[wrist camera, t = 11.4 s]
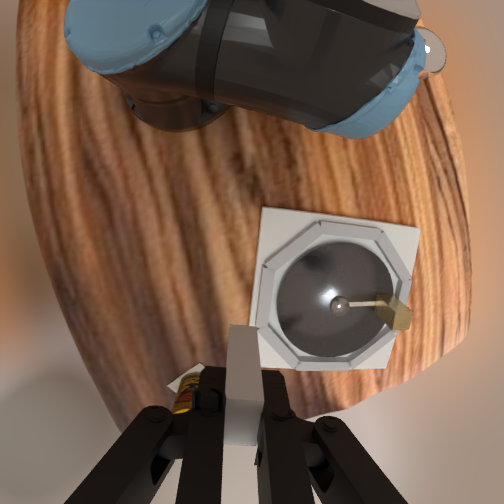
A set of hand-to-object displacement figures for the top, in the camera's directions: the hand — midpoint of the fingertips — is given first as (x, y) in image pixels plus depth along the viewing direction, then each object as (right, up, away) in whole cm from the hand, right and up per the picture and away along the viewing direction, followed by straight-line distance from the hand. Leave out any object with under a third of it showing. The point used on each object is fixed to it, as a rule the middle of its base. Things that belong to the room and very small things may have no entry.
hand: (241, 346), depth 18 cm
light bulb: (+20, +31, +19) cm, 41 cm away
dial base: (+12, -1, +26) cm, 28 cm away
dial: (+12, -1, +23) cm, 26 cm away
